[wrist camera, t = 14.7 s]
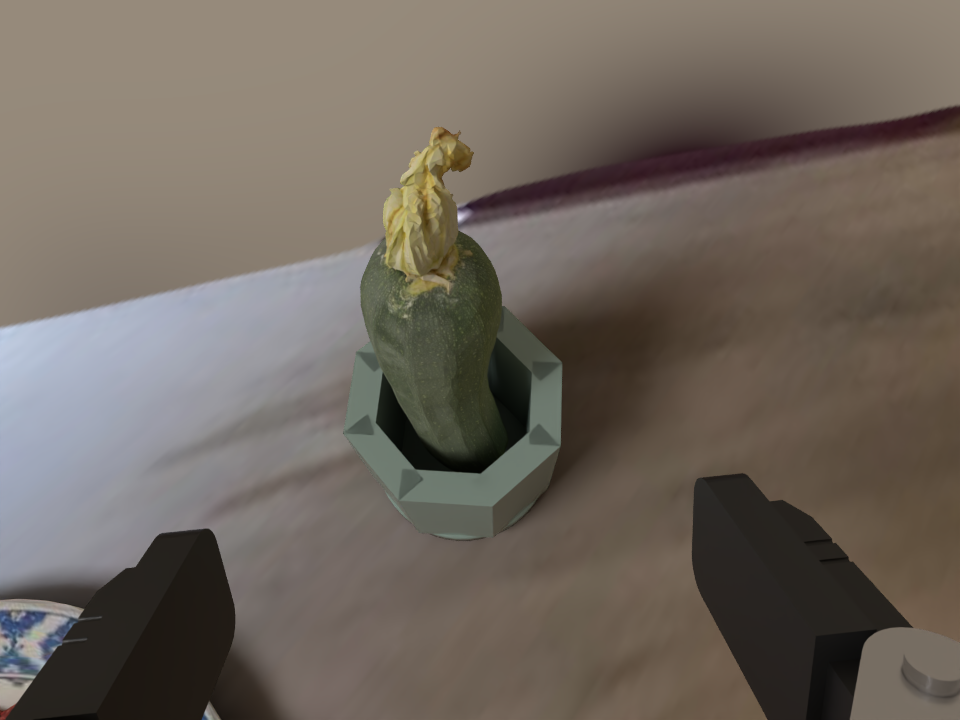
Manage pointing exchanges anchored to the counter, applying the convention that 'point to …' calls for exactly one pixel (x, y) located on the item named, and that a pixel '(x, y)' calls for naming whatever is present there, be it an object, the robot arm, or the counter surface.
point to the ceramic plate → (34, 645)
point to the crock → (454, 495)
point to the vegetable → (436, 313)
